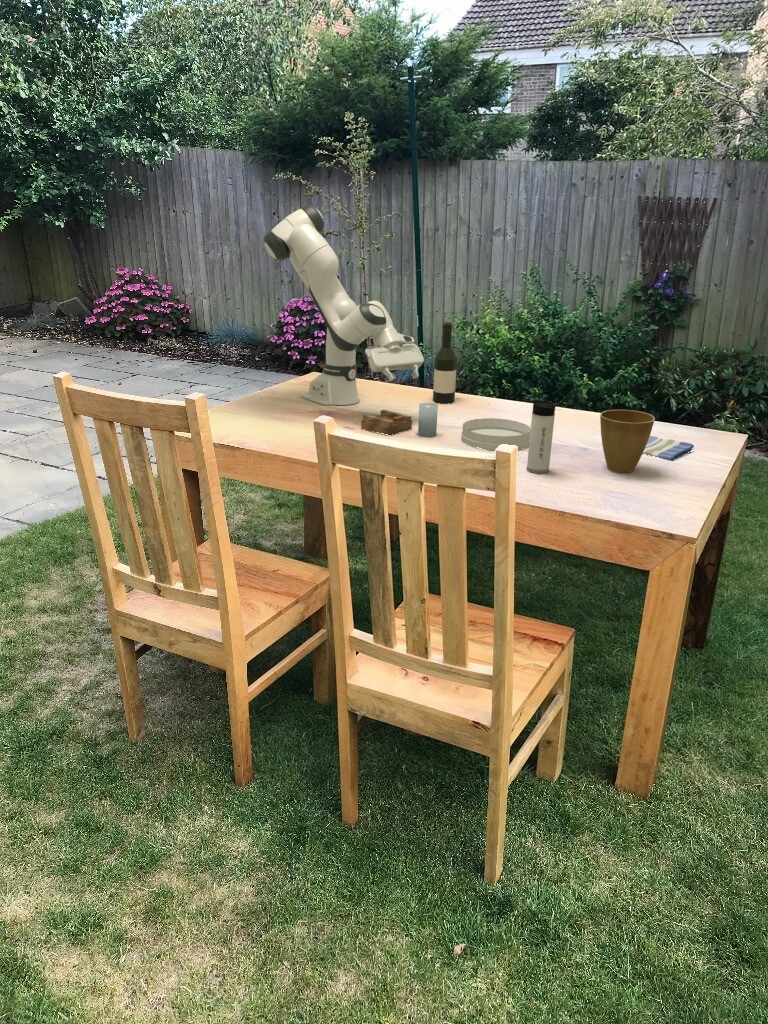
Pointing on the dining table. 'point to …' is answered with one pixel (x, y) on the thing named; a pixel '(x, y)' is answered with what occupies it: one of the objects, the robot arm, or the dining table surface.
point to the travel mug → (541, 437)
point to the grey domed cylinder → (427, 420)
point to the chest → (387, 422)
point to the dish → (495, 433)
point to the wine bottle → (445, 369)
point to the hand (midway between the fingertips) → (404, 378)
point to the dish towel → (666, 448)
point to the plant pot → (624, 438)
